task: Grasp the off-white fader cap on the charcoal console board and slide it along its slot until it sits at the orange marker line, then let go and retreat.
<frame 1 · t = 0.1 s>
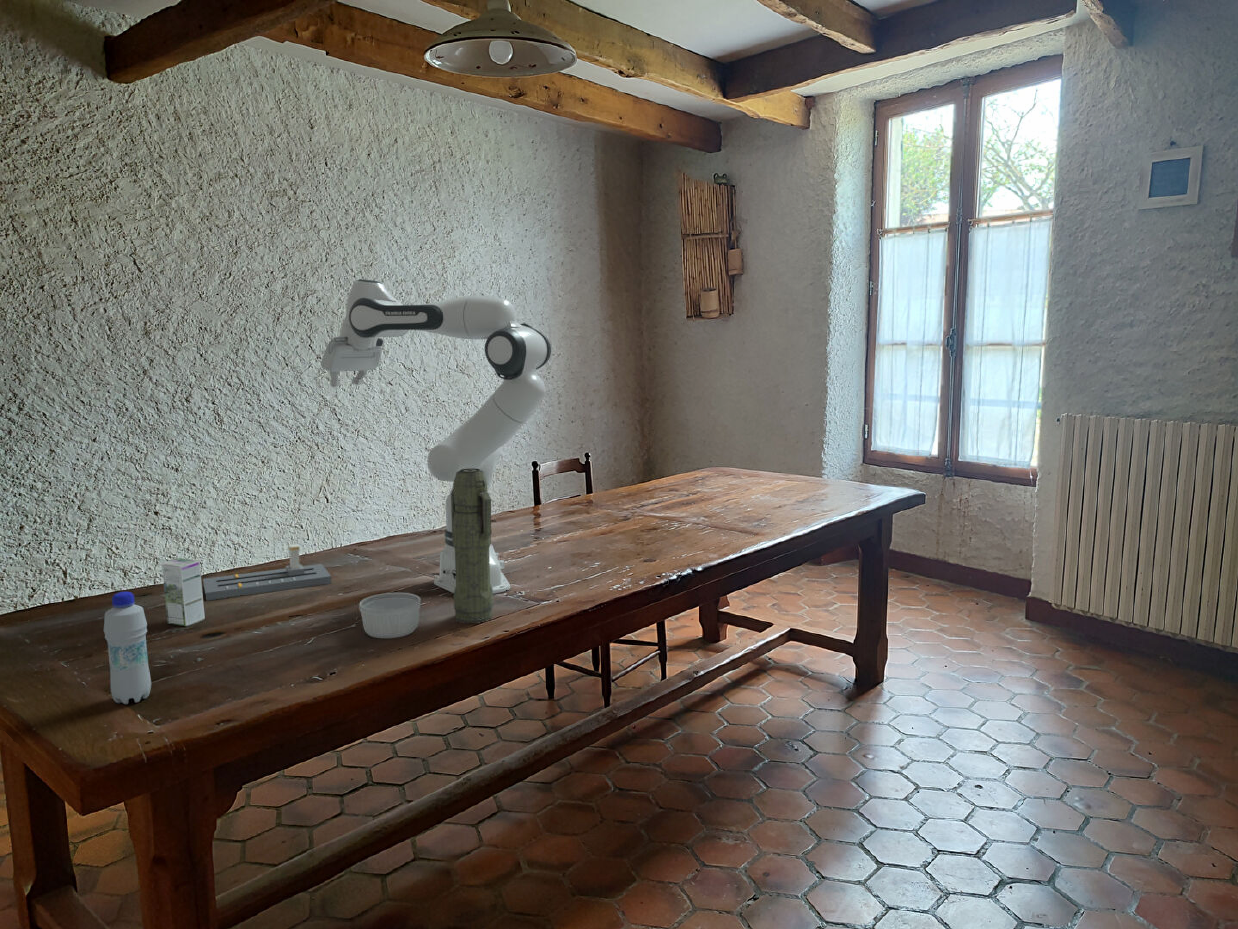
hand: (345, 385, 229), 52 cm above the table, tool tilted 20°, fingers open, 8 cm apart
console: (267, 584, 219), on the table
syrup box: (186, 622, 191), on the table
fader: (294, 559, 222), point 6 cm above the table, slide at -7.0 cm
ramekin: (391, 631, 185), on the table
bottle: (132, 700, 150), on the table
thermos: (474, 618, 193), on the table
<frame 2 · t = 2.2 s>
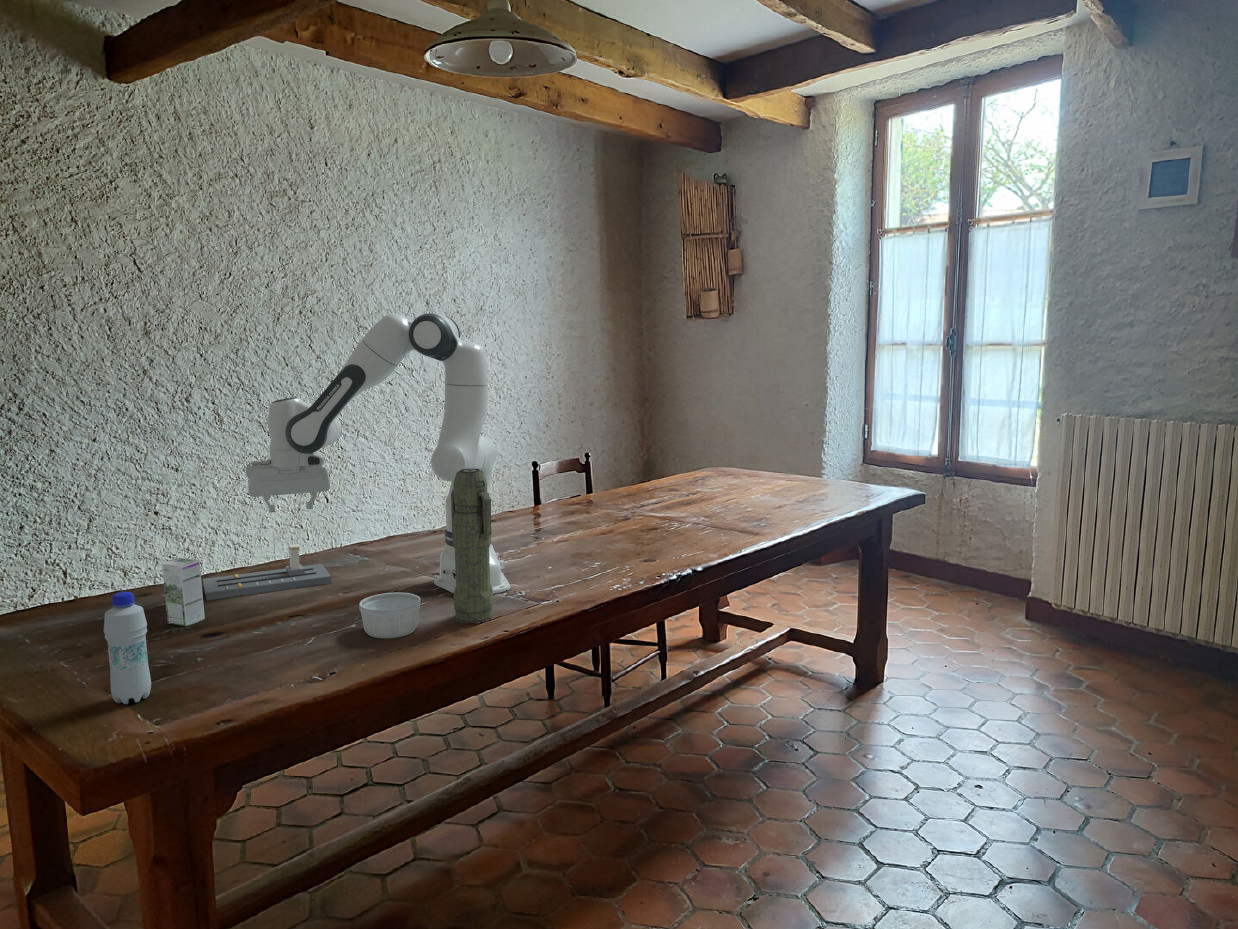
hand: (291, 510, 220), 19 cm above the table, tool pointing down, fingers open, 8 cm apart
nothing on the table moved.
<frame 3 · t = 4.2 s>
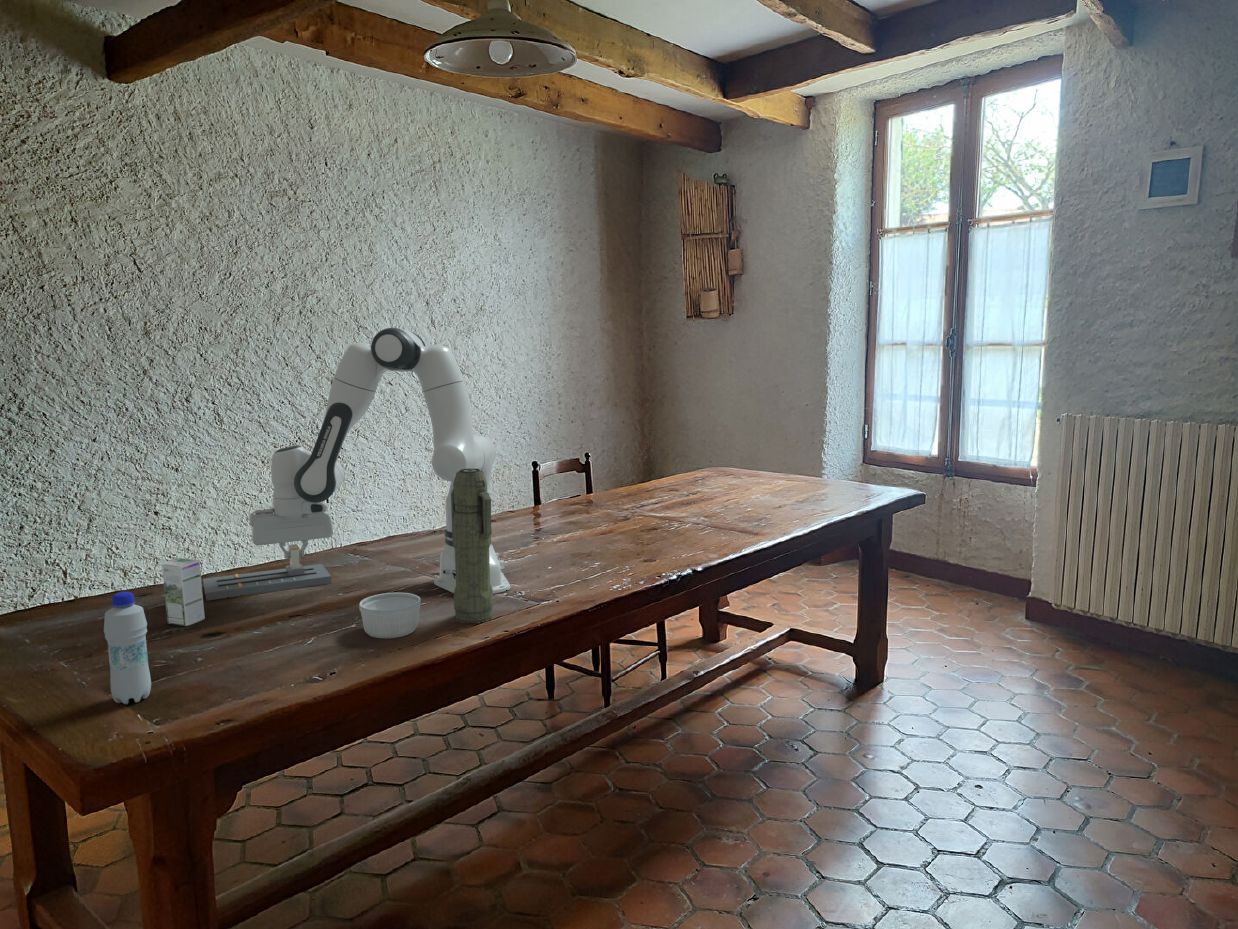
hand: (294, 557, 222), 7 cm above the table, tool pointing down, fingers closed on fader, 2 cm apart
fader: (294, 559, 222), point 6 cm above the table, slide at -7.0 cm, touching gripper
everything else where it was.
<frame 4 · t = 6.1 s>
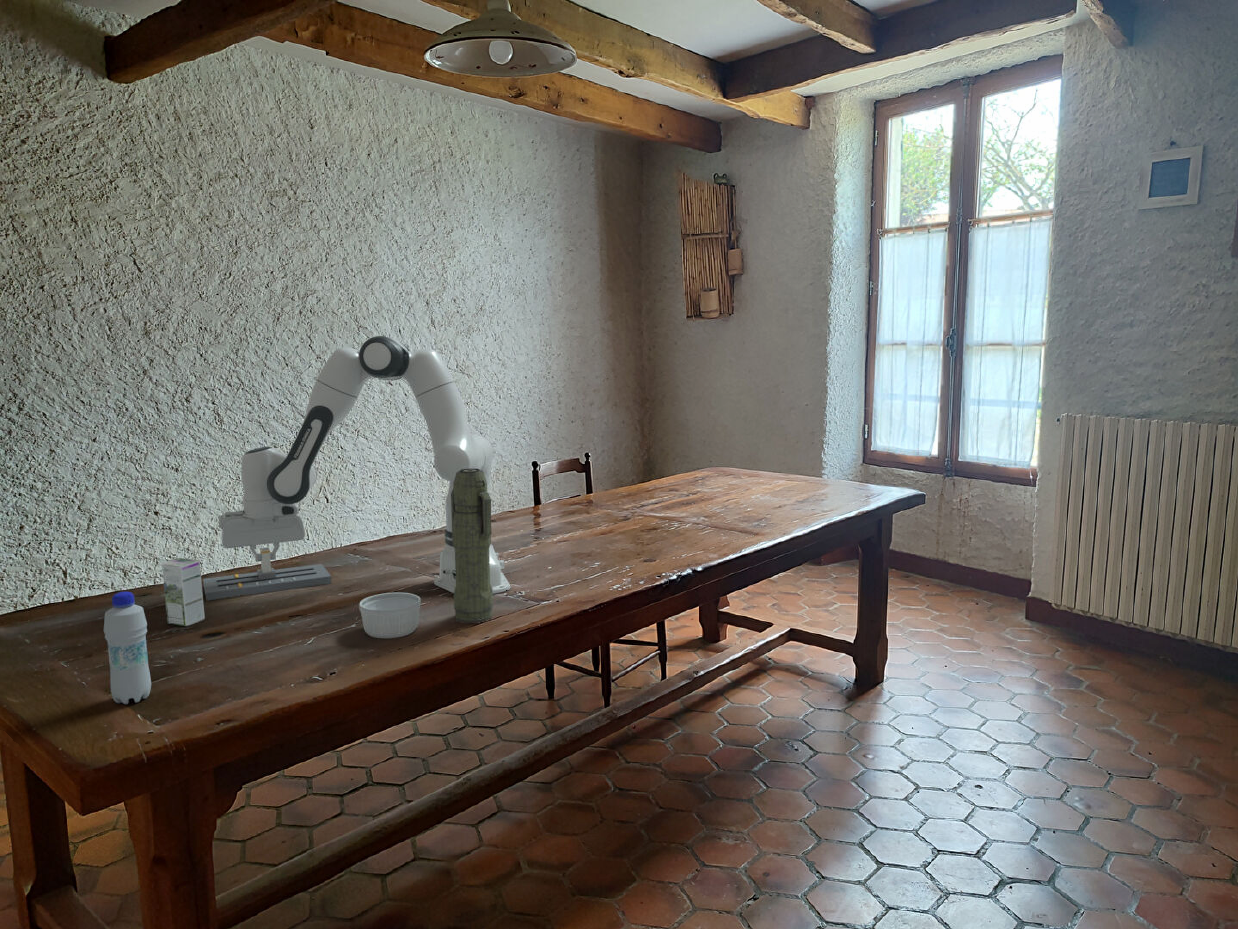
hand: (265, 560, 218), 7 cm above the table, tool pointing down, fingers closed on fader, 2 cm apart
fader: (265, 562, 218), point 6 cm above the table, slide at 0.1 cm, touching gripper
everything else where it was.
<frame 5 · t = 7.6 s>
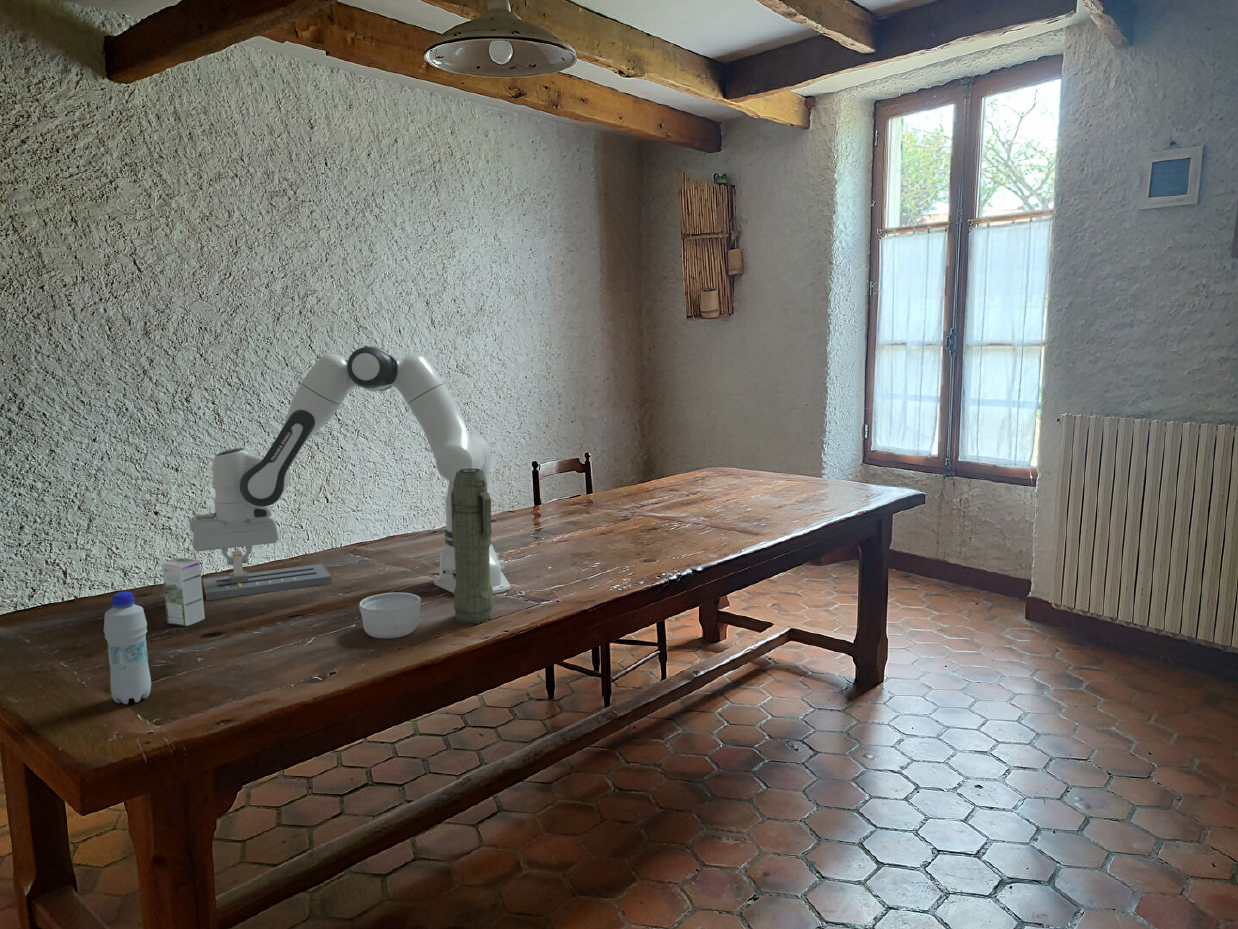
hand: (237, 563, 215), 7 cm above the table, tool pointing down, fingers closed on fader, 2 cm apart
fader: (237, 566, 215), point 6 cm above the table, slide at 6.9 cm, touching gripper
everything else where it was.
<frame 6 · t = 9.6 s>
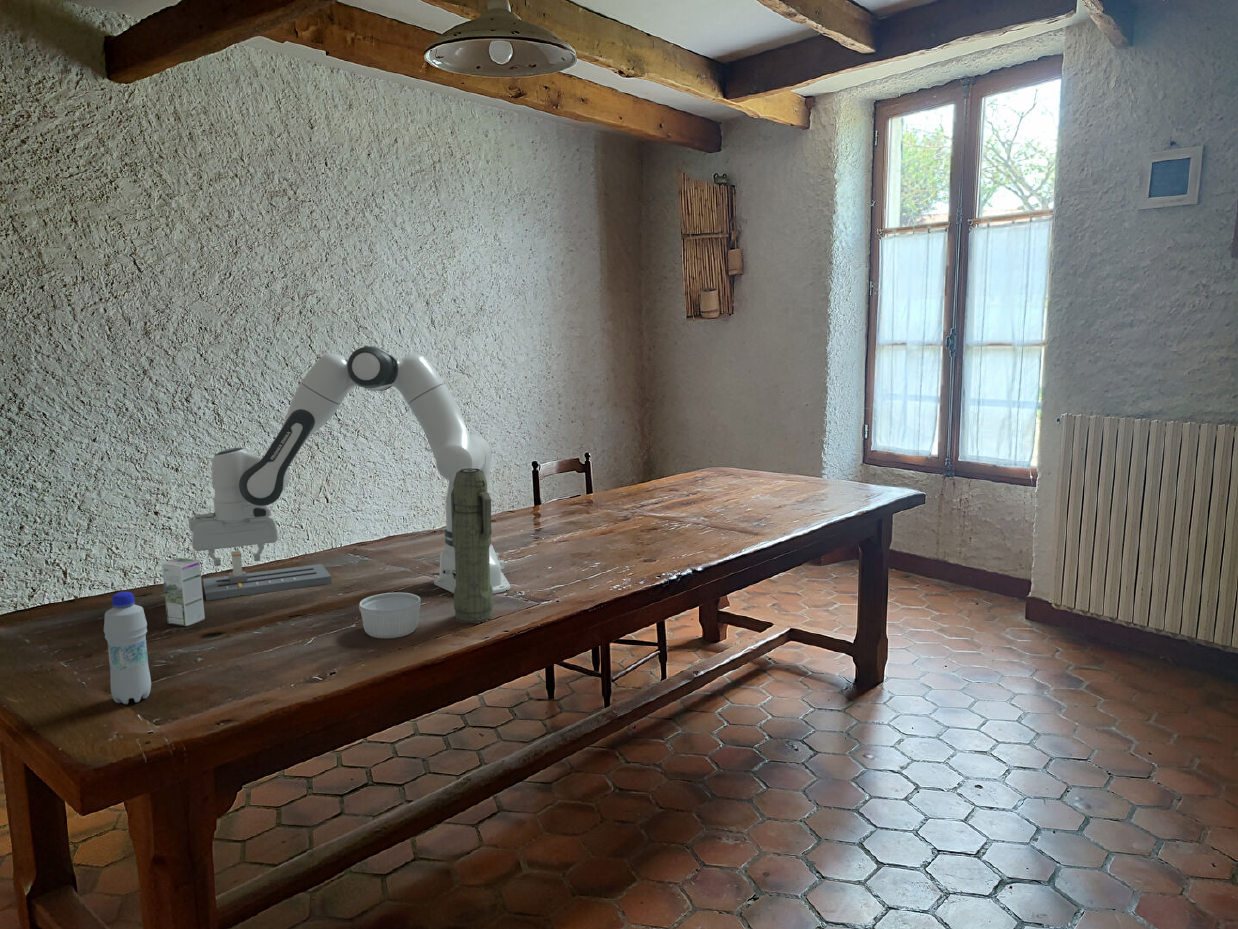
hand: (237, 563, 215), 7 cm above the table, tool pointing down, fingers open, 8 cm apart
fader: (237, 566, 215), point 6 cm above the table, slide at 7.0 cm
everything else where it was.
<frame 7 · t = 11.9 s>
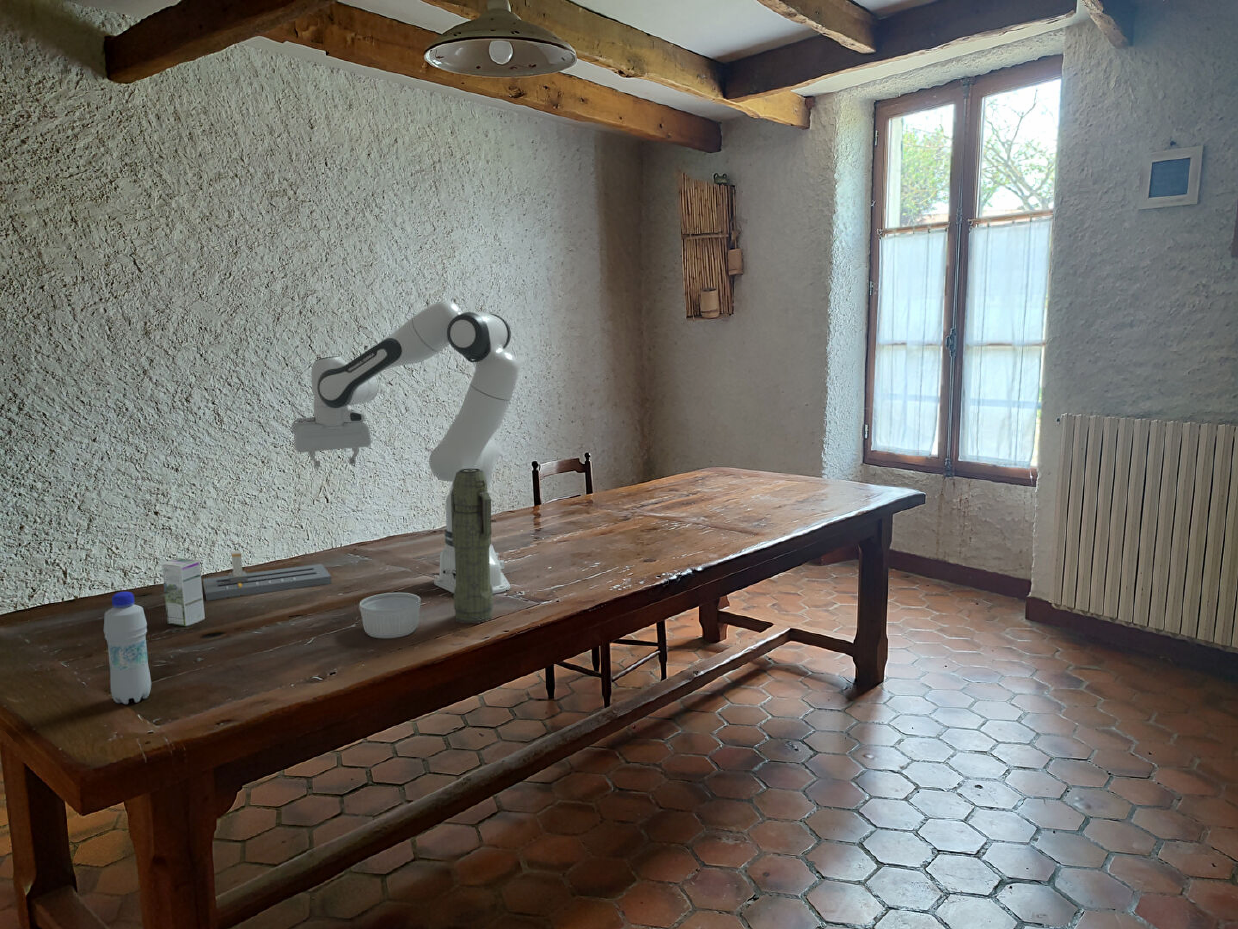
hand: (335, 465, 230), 30 cm above the table, tool pointing down, fingers open, 8 cm apart
nothing on the table moved.
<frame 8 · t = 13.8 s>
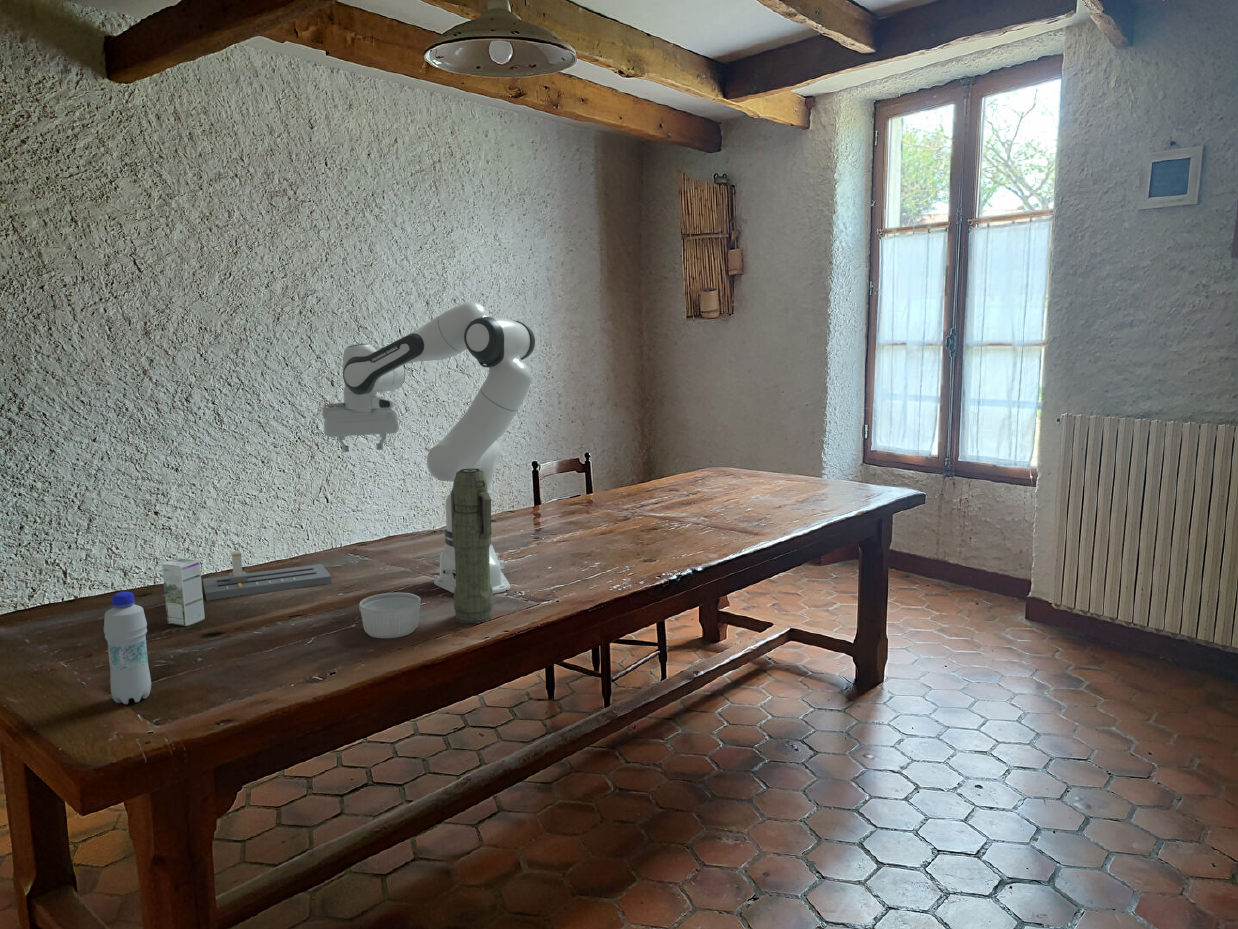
hand: (362, 450, 235), 33 cm above the table, tool pointing down, fingers open, 8 cm apart
nothing on the table moved.
at the end: fader slide at 7.0 cm; the gripper is holding nothing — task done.
